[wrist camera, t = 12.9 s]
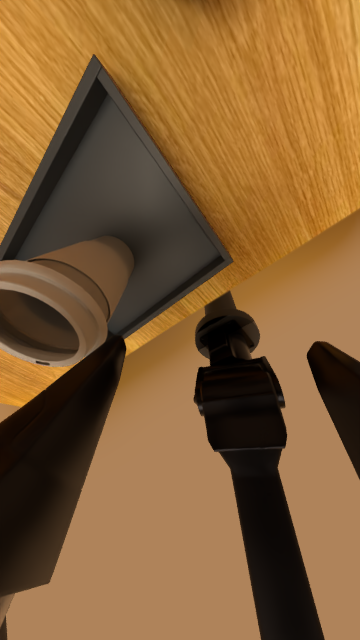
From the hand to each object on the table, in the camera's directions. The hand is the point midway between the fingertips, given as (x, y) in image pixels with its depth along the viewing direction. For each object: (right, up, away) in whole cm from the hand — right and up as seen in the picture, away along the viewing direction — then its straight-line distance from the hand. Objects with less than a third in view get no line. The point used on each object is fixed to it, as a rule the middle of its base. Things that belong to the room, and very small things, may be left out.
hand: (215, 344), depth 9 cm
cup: (-9, +8, +11) cm, 16 cm away
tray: (-9, +8, +11) cm, 16 cm away
